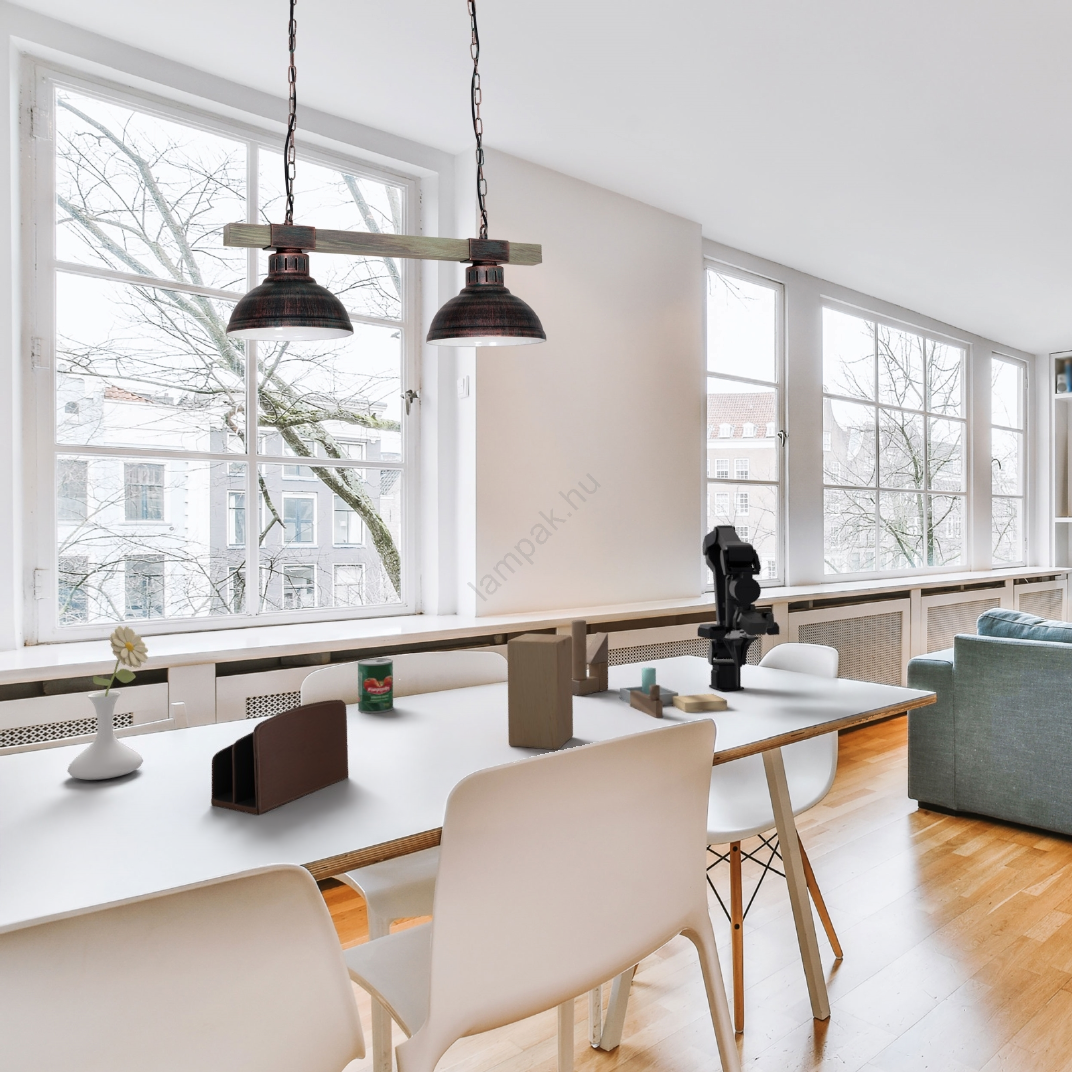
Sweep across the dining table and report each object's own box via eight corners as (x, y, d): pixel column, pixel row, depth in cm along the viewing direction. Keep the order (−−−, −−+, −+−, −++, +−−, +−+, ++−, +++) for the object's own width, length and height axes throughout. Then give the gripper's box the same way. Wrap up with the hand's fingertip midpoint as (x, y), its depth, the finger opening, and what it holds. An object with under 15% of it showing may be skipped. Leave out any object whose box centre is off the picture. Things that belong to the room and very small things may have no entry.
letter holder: (349, 778, 136) (348, 694, 136) (258, 817, 119) (256, 720, 119) (304, 770, 141) (303, 688, 141) (210, 806, 124) (208, 713, 123)
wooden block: (573, 736, 161) (572, 634, 160) (558, 750, 151) (557, 642, 151) (525, 733, 164) (524, 633, 163) (507, 746, 154) (506, 640, 154)
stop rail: (637, 705, 187) (637, 677, 187) (663, 717, 176) (663, 686, 176) (629, 706, 186) (628, 677, 186) (654, 718, 175) (654, 687, 175)
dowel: (651, 696, 193) (651, 667, 193) (658, 699, 190) (658, 669, 190) (639, 697, 192) (639, 668, 192) (646, 700, 189) (645, 670, 189)
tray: (657, 695, 198) (657, 684, 198) (678, 703, 188) (678, 692, 188) (619, 698, 194) (619, 688, 194) (639, 707, 185) (639, 696, 185)
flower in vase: (91, 790, 131) (88, 634, 131) (53, 779, 137) (50, 629, 137) (166, 768, 142) (163, 625, 142) (127, 759, 148) (125, 621, 148)
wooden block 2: (608, 689, 205) (608, 617, 205) (579, 696, 197) (579, 621, 197) (597, 687, 208) (597, 616, 207) (568, 694, 200) (567, 620, 200)
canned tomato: (374, 714, 181) (373, 665, 180) (350, 710, 185) (350, 661, 185) (400, 708, 187) (400, 660, 187) (377, 703, 192) (376, 656, 192)
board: (713, 704, 189) (713, 693, 189) (727, 711, 182) (727, 700, 182) (672, 707, 187) (672, 696, 187) (685, 714, 180) (685, 702, 180)
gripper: (723, 604, 177) (723, 676, 177) (794, 600, 184) (795, 670, 184) (696, 599, 187) (696, 667, 188) (764, 596, 194) (764, 662, 194)
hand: (738, 667), depth 188 cm, fingers closed
